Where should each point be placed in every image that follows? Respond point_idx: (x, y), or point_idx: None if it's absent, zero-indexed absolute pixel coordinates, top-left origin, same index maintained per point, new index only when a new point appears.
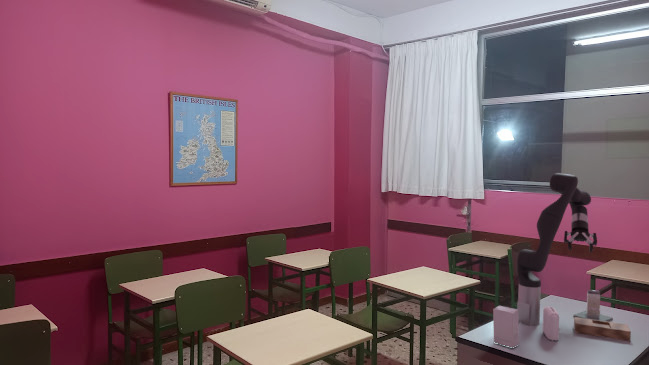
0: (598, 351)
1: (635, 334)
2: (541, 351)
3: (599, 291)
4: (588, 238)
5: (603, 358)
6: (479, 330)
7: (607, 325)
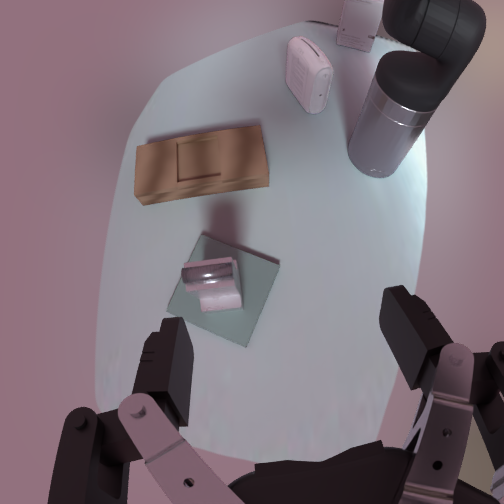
0: (212, 77)
1: (125, 212)
2: None
3: (184, 269)
4: (166, 460)
5: (205, 60)
6: None
7: (183, 176)
